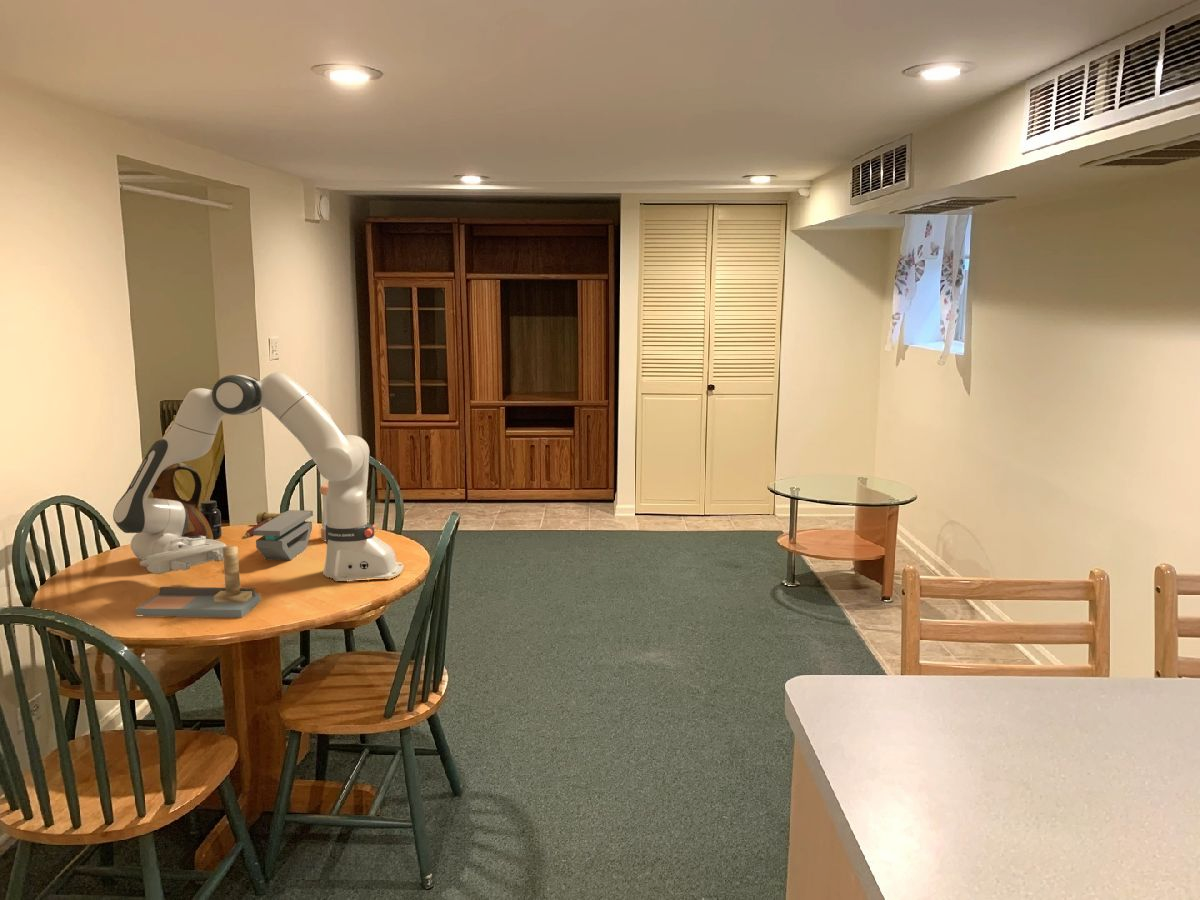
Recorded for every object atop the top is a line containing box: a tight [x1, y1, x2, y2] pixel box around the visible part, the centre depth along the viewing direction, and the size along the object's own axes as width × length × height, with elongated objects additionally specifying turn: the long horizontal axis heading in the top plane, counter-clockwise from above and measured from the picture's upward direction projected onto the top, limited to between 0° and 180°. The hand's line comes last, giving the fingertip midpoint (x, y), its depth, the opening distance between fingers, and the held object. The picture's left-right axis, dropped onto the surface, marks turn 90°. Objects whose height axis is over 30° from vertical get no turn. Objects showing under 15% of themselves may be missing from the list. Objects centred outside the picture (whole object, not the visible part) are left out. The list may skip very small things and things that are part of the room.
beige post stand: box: [214, 545, 252, 602], centre depth 222 cm, size 8×4×14 cm, turn 90°
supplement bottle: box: [199, 500, 223, 540], centre depth 285 cm, size 7×7×12 cm
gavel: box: [243, 511, 284, 539], centre depth 296 cm, size 21×5×10 cm
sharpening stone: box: [254, 509, 314, 561], centre depth 268 cm, size 25×8×11 cm, turn 177°
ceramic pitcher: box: [151, 462, 214, 540], centre depth 259 cm, size 20×20×30 cm
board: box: [135, 586, 261, 618], centre depth 221 cm, size 26×12×4 cm, turn 90°
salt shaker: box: [319, 481, 329, 541], centre depth 285 cm, size 7×7×19 cm
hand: (204, 562), depth 228 cm, fingers open, 8 cm apart
